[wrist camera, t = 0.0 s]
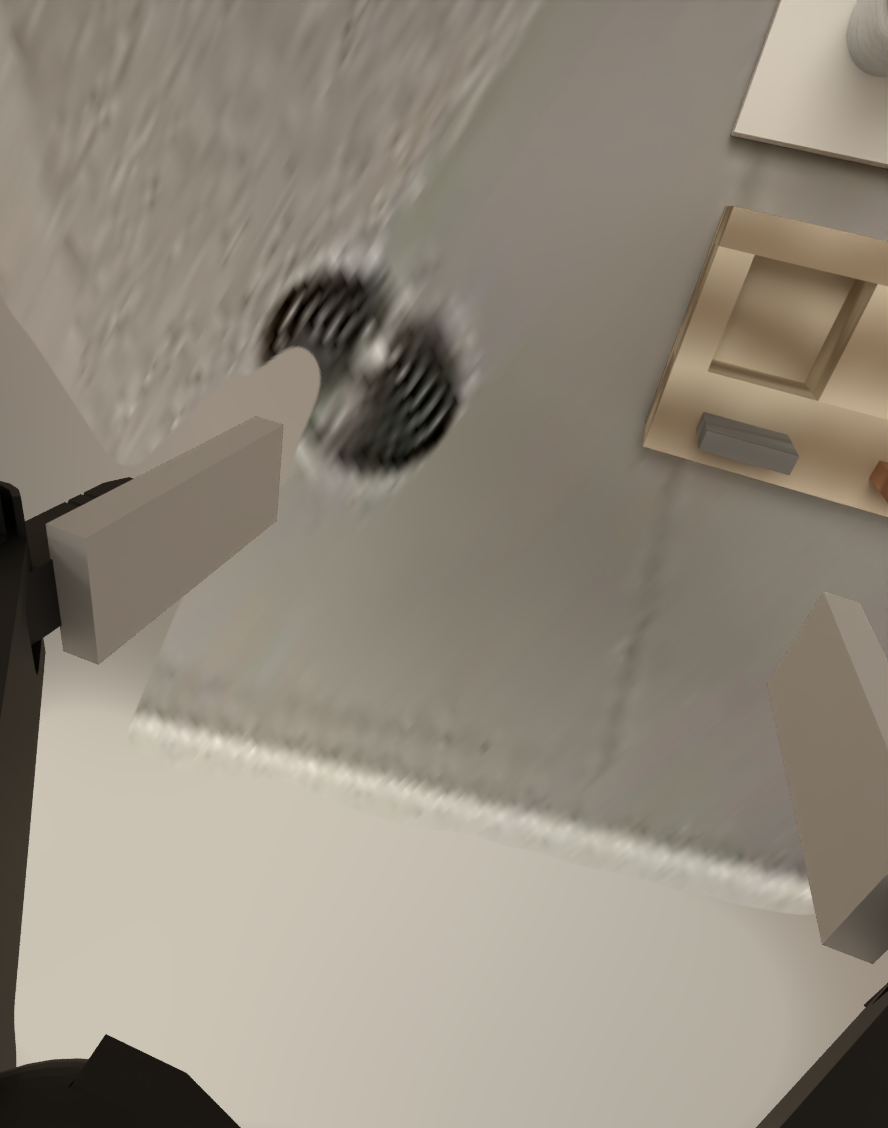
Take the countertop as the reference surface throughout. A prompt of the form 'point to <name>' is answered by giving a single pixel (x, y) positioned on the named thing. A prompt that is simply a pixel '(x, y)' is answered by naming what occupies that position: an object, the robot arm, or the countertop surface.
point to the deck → (815, 88)
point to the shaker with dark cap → (869, 36)
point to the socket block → (784, 361)
